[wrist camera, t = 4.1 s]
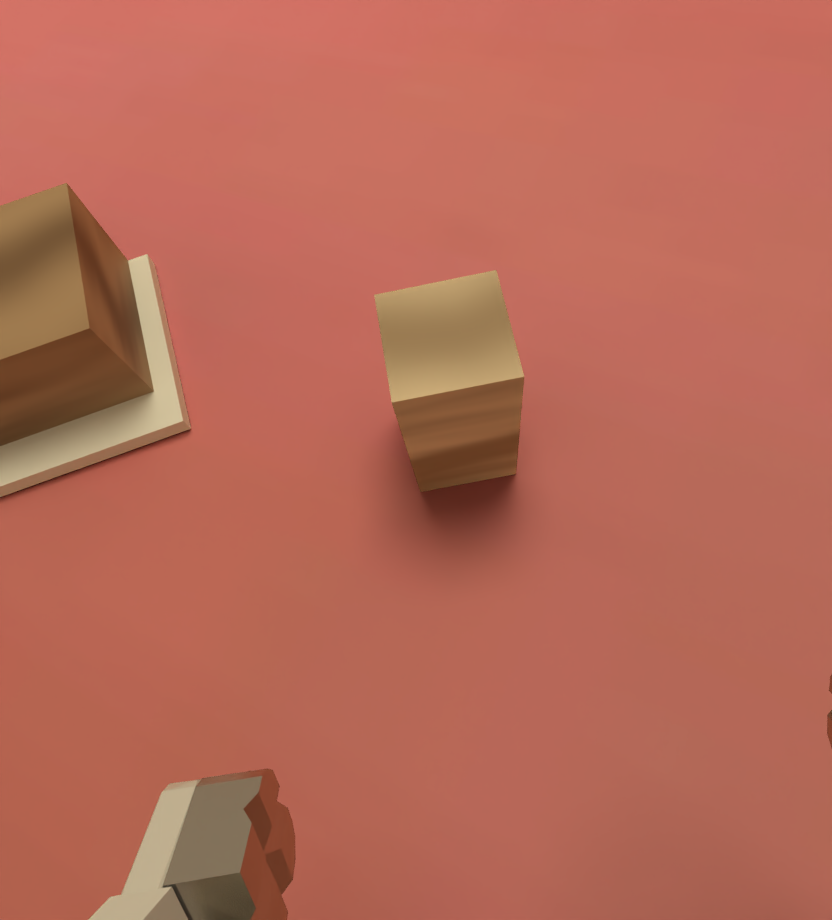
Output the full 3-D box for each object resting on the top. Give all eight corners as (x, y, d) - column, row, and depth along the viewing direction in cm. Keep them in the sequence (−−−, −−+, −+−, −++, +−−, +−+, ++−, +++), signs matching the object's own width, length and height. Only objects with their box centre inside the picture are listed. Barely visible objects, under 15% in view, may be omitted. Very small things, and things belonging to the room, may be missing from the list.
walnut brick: (153, 391, 29) (89, 328, 24) (-17, 452, 29) (-114, 399, 24) (128, 260, 32) (66, 182, 27) (-26, 314, 32) (-113, 245, 27)
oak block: (516, 474, 26) (524, 376, 19) (420, 492, 26) (391, 402, 19) (496, 389, 28) (496, 270, 20) (405, 407, 28) (374, 295, 21)
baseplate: (190, 428, 29) (183, 421, 28) (-1, 497, 29) (-14, 491, 28) (154, 264, 33) (147, 254, 32) (-14, 323, 32) (-26, 314, 32)
